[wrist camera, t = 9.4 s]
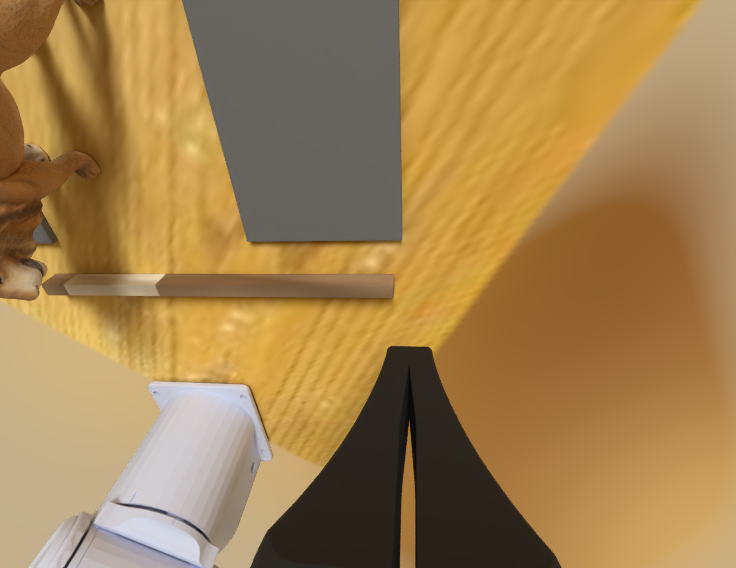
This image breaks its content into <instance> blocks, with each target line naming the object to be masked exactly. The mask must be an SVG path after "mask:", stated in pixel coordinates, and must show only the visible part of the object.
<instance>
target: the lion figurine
mask: <svg viewBox="0 0 736 568" xmlns="http://www.w3.org/2000/svg"><path fill="white" fill-rule="evenodd" d="M74 1H75V3H76V4H77V5H79V6H81V7H84V6H92V5H94V4H95V3H96V2H97V1H98V0H74ZM63 2H64V0H0V76H1V74H2V73H3V72H4V71H6V70H8V69H10V68H13V67H15V66H17V65H19V64H21V63H23V62H24V61H26V60H27V59H28V58H29V57H30V56H31V55H32V54H33V53H34V52H35V51H36V50H37V49H38V48H39V47H40V46H41V45H42V44H43V43H44V42H45V40H46V39H47V38H48V36H49V34H50V32H51V30H52V28H53V26H54V23H55V20H56V18H57V16H58V14H59V11H60V8H61V5H62V4H63ZM73 172H75V173H77V174H78V175H80V176H81V177H82V178H84V179H89V178H92V179H93V178H95V177H96V176H97V175H98V174H99V173H100V169H99V166H98V165H97V164H96V162H95V161H94V160H93V159H92V158H91V157H90V156H88V155H87V154H84V153H81V152H78V151H69V152H67V153H65V154H63V155H61V156H60V157H58V158H57V159H55V160H53V161H50V162H49V159H48V156H47V154H46V153H45V152H44V151H43V150H42V149H41V148H40V147H39V146H37V145H35V144H28V143H24V131H23V125H22V121H21V117H20V114H19V110H18V107H17V105H16V103H15V100H14V98H13V96H12V95H11V93H10V92H9V91H8V89H7V87H6V86H5V85H4V83H3V82H2V80H1V79H0V298H7V299H20V300H27V301H32V300H35V299H36V298H37V297H38V296H39V287H40V285H41V283H42V278H43V277H44V276H45V275H46V273H47V266H46V265H45V264H44V263H42V262H39V261H36V260H33V259H31V257H32V254H33V253H34V251H35V250H36V247H37V246H36V243H35V241H34V238H33V232H34V230H35V228H36V227H37V226H38V225H39V224H40V223H41V222H42V219H43V213H42V210H41V209H42V206H43V204H42V203H41V199H42V198H44V197H45V196H47V195H48V194H50V193H51V192H53V191H54V190H56V189H57V188H58V187H60V186H61V185H62V184H63V183H64V182H65V181H66V180H67V179H68V177H69V176H70V175H71V174H72V173H73Z"/></svg>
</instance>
